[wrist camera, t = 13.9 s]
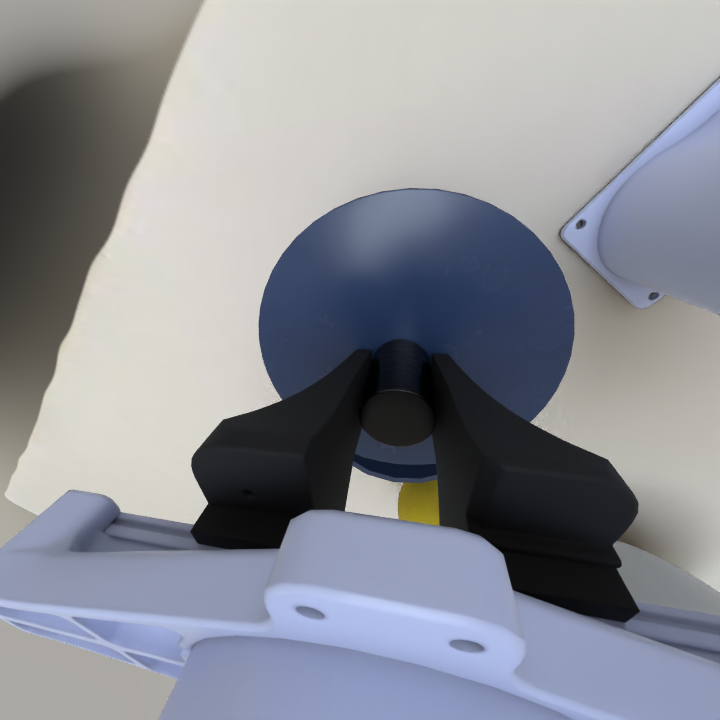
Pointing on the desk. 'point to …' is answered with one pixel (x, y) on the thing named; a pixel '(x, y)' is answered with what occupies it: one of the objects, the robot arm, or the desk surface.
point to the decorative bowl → (664, 582)
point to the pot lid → (418, 311)
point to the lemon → (419, 502)
